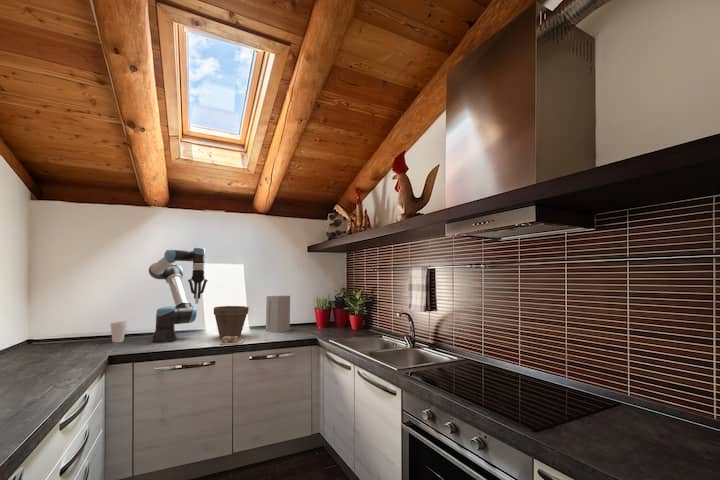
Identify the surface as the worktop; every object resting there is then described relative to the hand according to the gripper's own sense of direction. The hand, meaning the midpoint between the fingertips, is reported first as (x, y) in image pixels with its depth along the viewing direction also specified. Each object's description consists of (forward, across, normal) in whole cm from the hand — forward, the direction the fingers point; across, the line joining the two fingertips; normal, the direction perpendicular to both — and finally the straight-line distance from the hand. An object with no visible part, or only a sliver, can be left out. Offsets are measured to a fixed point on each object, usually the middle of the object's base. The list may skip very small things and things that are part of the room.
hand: (196, 303), depth 256 cm
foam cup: (+27, -53, +6) cm, 60 cm away
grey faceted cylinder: (+26, +54, +37) cm, 70 cm away
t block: (+26, +26, -9) cm, 37 cm away
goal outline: (+26, +27, -9) cm, 38 cm away
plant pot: (+26, +20, +16) cm, 37 cm away
